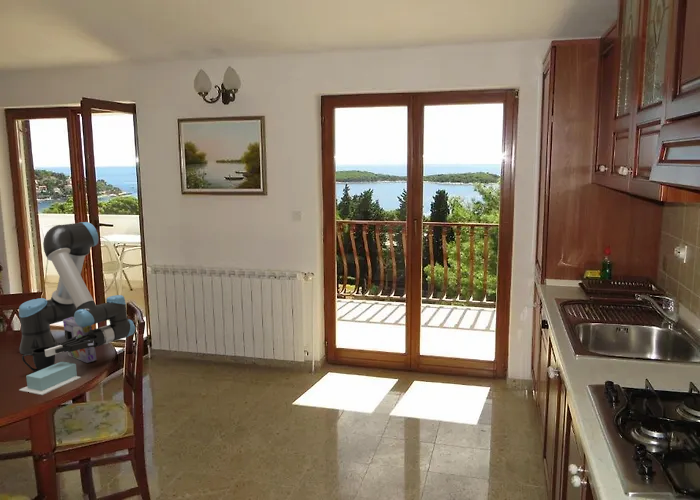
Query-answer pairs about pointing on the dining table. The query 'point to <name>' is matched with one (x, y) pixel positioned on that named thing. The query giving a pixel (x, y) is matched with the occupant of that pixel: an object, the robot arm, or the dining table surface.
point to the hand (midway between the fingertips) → (46, 353)
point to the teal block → (51, 376)
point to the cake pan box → (75, 330)
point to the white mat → (49, 388)
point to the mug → (40, 359)
